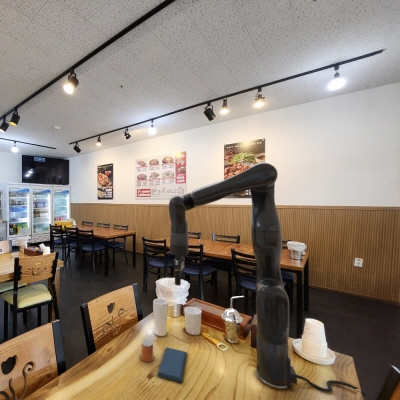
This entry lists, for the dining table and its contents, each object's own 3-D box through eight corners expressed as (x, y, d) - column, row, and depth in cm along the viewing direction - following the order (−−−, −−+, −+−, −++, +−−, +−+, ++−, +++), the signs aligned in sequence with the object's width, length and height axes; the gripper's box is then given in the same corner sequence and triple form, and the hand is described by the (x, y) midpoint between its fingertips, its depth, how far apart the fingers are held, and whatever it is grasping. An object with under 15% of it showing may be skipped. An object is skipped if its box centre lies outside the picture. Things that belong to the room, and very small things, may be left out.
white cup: (203, 329, 110) (203, 309, 110) (199, 337, 103) (199, 315, 104) (187, 325, 114) (186, 305, 114) (182, 332, 108) (182, 311, 108)
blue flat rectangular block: (186, 354, 92) (186, 351, 92) (181, 383, 77) (181, 379, 77) (166, 349, 95) (166, 346, 95) (157, 376, 80) (157, 372, 80)
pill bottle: (154, 355, 91) (154, 340, 91) (151, 363, 87) (151, 347, 87) (143, 352, 93) (143, 338, 93) (139, 359, 88) (139, 344, 88)
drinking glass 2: (166, 330, 110) (166, 298, 110) (168, 338, 103) (168, 304, 103) (152, 329, 110) (152, 298, 111) (153, 337, 104) (153, 304, 104)
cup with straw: (224, 332, 107) (224, 290, 108) (245, 339, 102) (245, 294, 102) (219, 341, 101) (218, 295, 101) (242, 349, 95) (241, 301, 96)
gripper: (186, 246, 88) (186, 288, 87) (190, 241, 101) (190, 278, 101) (167, 245, 91) (167, 286, 90) (172, 240, 104) (173, 276, 103)
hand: (179, 281), depth 95 cm, fingers open, 8 cm apart
